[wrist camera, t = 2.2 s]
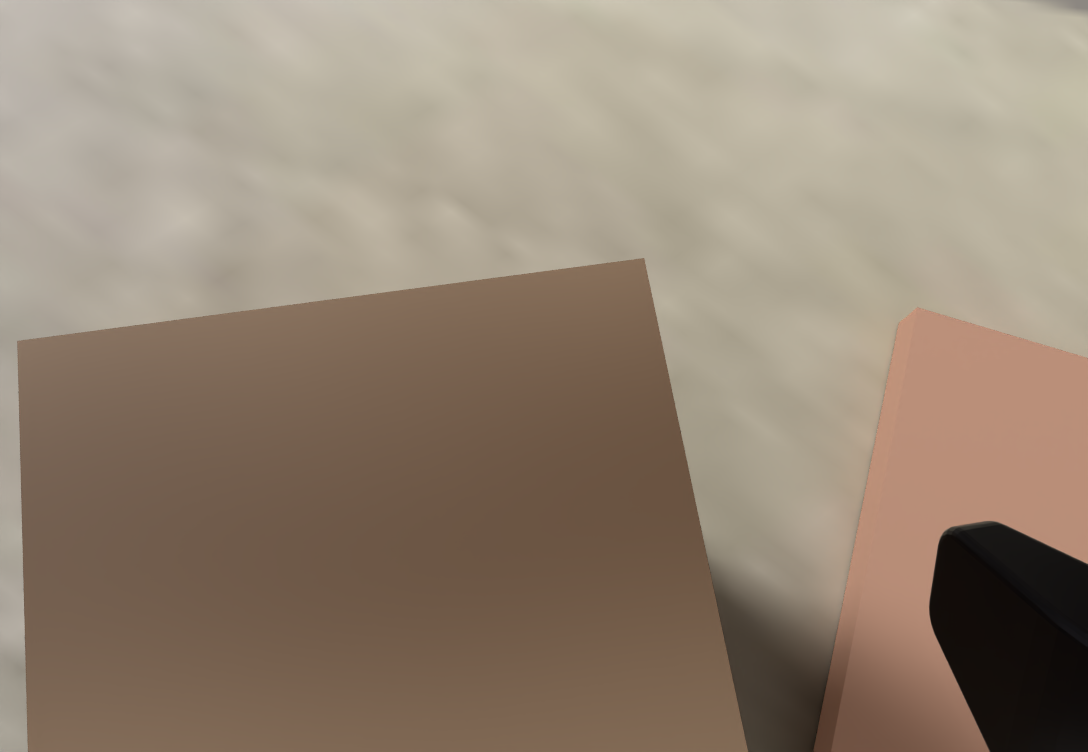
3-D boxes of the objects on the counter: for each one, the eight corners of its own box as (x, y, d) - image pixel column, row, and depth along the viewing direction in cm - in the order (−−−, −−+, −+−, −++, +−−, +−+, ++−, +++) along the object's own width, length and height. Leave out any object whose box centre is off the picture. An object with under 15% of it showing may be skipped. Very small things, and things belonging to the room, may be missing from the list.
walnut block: (613, 784, 16) (782, 916, 7) (287, 846, 15) (36, 1072, 6) (558, 470, 17) (644, 259, 8) (257, 516, 16) (17, 341, 8)
